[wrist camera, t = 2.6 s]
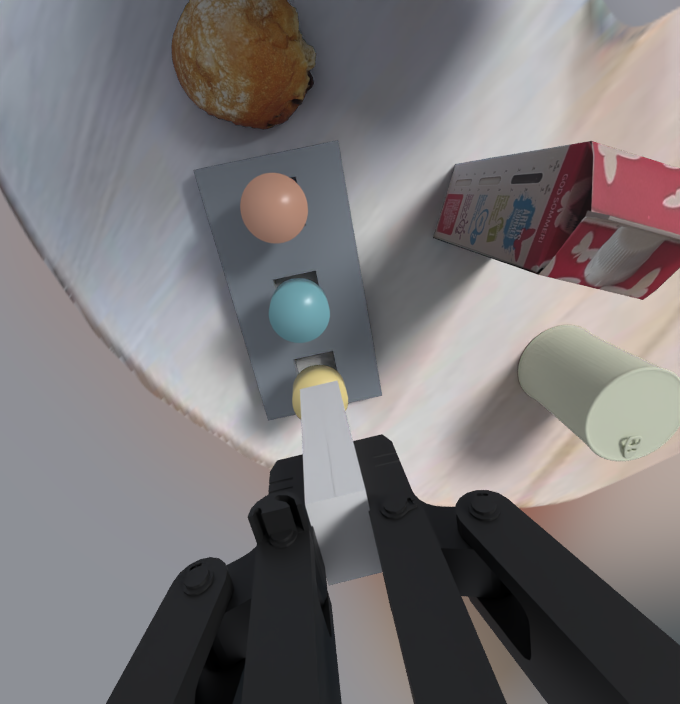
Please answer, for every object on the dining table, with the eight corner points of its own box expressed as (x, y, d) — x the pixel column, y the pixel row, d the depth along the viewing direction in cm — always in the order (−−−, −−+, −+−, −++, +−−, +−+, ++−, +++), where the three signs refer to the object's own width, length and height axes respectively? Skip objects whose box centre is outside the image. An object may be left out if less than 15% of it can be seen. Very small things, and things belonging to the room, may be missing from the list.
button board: (198, 171, 36) (193, 170, 34) (335, 142, 36) (337, 140, 34) (269, 410, 45) (268, 420, 43) (378, 387, 45) (382, 395, 43)
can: (514, 406, 47) (581, 472, 36) (520, 330, 44) (595, 377, 33) (592, 395, 48) (681, 457, 37) (603, 319, 44) (705, 362, 33)
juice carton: (496, 253, 41) (697, 316, 20) (433, 237, 40) (578, 288, 19) (521, 182, 38) (775, 173, 18) (455, 163, 37) (646, 131, 17)
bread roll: (241, -9, 34) (177, -93, 27) (344, 40, 33) (308, -34, 25) (196, 110, 37) (127, 65, 30) (289, 161, 35) (241, 127, 28)
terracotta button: (240, 181, 33) (231, 180, 29) (299, 169, 33) (299, 166, 29) (256, 242, 35) (250, 249, 31) (312, 230, 35) (314, 236, 31)
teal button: (265, 279, 36) (261, 291, 32) (320, 268, 36) (323, 278, 32) (279, 331, 38) (277, 348, 34) (330, 319, 38) (335, 335, 34)
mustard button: (287, 362, 39) (286, 383, 35) (337, 351, 39) (342, 371, 35) (299, 406, 41) (299, 431, 37) (346, 396, 41) (352, 419, 37)
